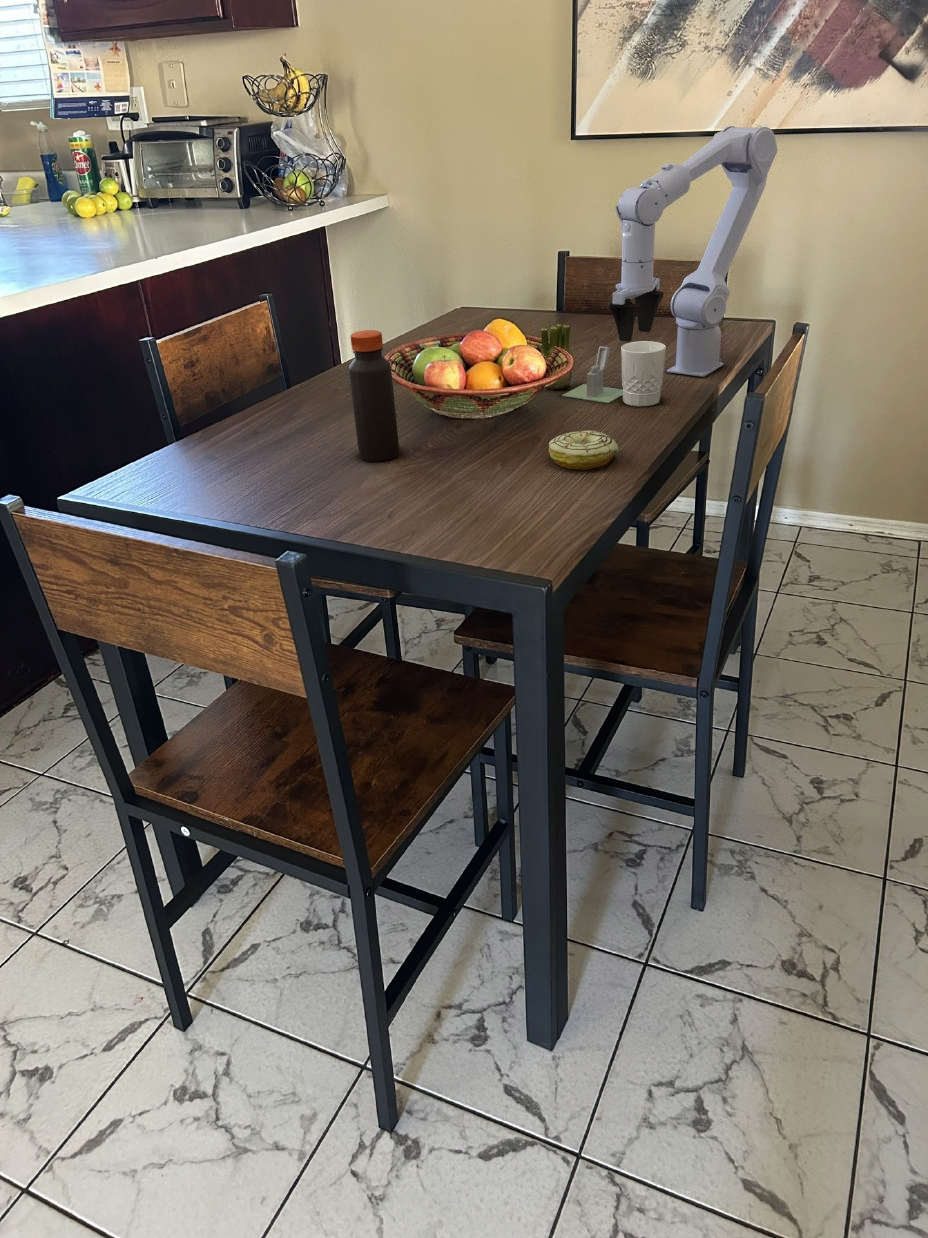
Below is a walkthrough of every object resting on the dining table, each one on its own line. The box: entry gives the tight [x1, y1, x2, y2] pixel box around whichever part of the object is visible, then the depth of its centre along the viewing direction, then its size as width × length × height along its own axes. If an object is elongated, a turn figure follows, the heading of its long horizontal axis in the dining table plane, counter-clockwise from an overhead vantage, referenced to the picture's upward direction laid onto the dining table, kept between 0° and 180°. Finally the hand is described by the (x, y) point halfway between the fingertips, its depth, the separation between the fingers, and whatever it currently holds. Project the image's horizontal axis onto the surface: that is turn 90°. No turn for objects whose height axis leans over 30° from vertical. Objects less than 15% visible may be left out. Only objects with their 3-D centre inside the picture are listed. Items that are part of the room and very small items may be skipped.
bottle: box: [348, 329, 400, 463], centre depth 151 cm, size 7×7×20 cm
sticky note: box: [561, 383, 623, 404], centre depth 177 cm, size 8×10×1 cm
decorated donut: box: [548, 429, 619, 471], centre depth 147 cm, size 10×11×4 cm
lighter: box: [586, 345, 611, 398], centre depth 176 cm, size 7×2×8 cm, turn 150°
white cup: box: [620, 340, 667, 407], centre depth 170 cm, size 8×8×10 cm
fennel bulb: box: [540, 323, 573, 390], centre depth 179 cm, size 6×5×12 cm
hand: (635, 335), depth 176 cm, fingers open, 7 cm apart
